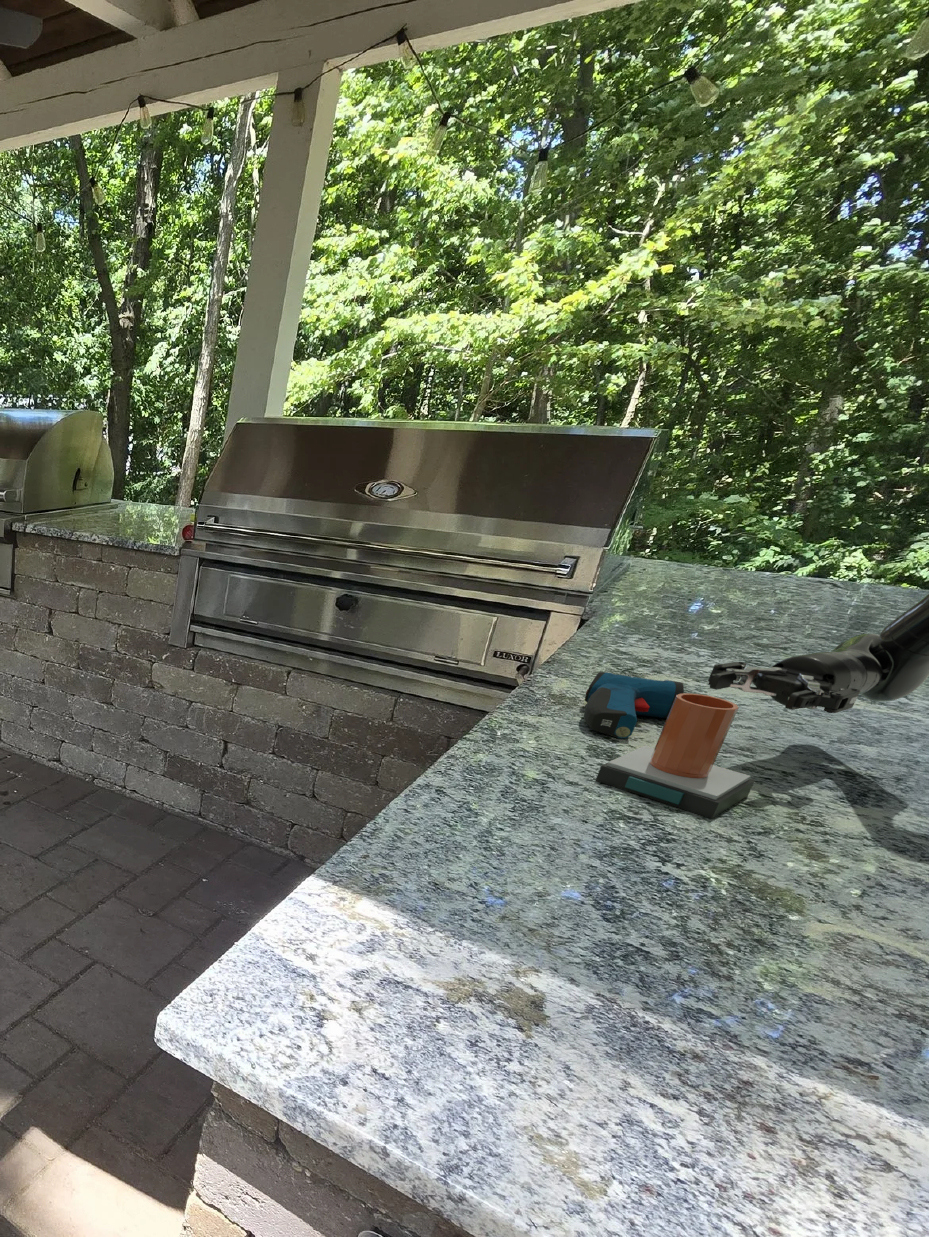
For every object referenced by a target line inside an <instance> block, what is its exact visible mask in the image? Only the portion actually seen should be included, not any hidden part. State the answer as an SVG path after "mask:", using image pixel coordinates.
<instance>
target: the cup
mask: <svg viewBox="0 0 929 1237" xmlns="http://www.w3.org/2000/svg"><path fill="white" fill-rule="evenodd" d="M738 711H739V706H738V705H737V704H736V703H734V702H732V701H730V700H727V699H724V698H720V697H716V696H713V695H707V694H700V693H687V692H686V693H685V692H684V693H683V694H678V695H676V697H675V700H674V702H673V705H672V707H671V710H670V712H669V715H668V717H667V719H666V720H665V722H664V725H663V727H662V729H661V732H660V735H659V736H658V740H657V742H656V744H655V746H654V748H655V749H654V751H653V754H652V756H651V760H650V764H651V765H652V766H653V767H655V768H657V769H659V770H661V771H664V772H667V773H670V774H673V775H677V776H682V777H688V778H705V777H707V776H708V774H709V772H710V771H711V769H712V767H713V765H714V764H715V762H716V760H717V757H718V756H719V753H720V751H721V748H722V746H723V745H724V742H725V740H726V737H727V735H728V733H729V731H730V728H731V726H732V724H733V722H734V719H735V717H736V715H737V714H738V713H737V712H738Z"/></svg>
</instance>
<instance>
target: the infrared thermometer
mask: <svg viewBox="0 0 929 1237" xmlns="http://www.w3.org/2000/svg"><path fill="white" fill-rule="evenodd" d="M684 693H685V686H684V684H683V682H680V681H673V680H668V679H665V680H658V679H652V678H646V677H645V678H644V677H638V676H632V675H630V676H629V675H623V674H615V673H612V672H605V671H604V672H603V671H599V672H598V673H597V674H596V675H595V677H594V678H593V680H592V681H591V682H590V684H589V686H588V688H587V690H586V692H585V696H584V702H586V703H585V704H586V705H585V707H584V708H585V709H584V712H583V713H584V714H583V719H584V721H585V723H586V725H587V726H588V727H589V728H590V729H591V730H592V731H595V732H598V733H601V734H604V735H607V736H611V737H614V738H617V739H621V740H622V739H628V738H629V737H631V736H632V735H633V732H634V730H635V728H636V725H637V722H638V718H637V716H644V717H651V718H658V717H659V718H658V719H665V718H666V719H667V717H668V715H669V712H670V710H671V707H672V705H673V702H674V700H675V697H676V695H678V694H684Z"/></svg>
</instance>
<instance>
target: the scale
mask: <svg viewBox="0 0 929 1237" xmlns="http://www.w3.org/2000/svg"><path fill="white" fill-rule="evenodd" d="M654 749H655V747H652V746H648V745H642V746H640V747H637V748H636V749H634V750H631V751H629V752H627V753H625V754H622V755H621V756H618V757H616V758H614V759H612V760H610V761H608V762H606V763H604V764H602V765H601V764H600V768H599V770H598V773H597V776H596V778H595V781H596V782H599V783H601V784H604V785H608V786H612V787H614V788H617V789H620V790H623V791H626V792H629V793H632V794H634V795H638V796H641V797H645V798H647V799H650V800H653V801H656V802H659V803H661V804H662V803H663V804H665V805H669V806H671V807H675V808H677V809H680V810H682V811H683V810H684V811H686V812H689V813H693V814H695V815H699V816H701V817H705V818H708V819H711V820H712V819H714V818H716V817H717V816H719V815H720V814H722V813H723V812H725V811H726V810H728V809H729V808H731V807H732V806H734V805H736V804H737V803H738V802H739V803H740V802H741V801H742V800H744V799H745V798H747V797H748V796H749V794H750V792H751V790H752V787H753V786H754V784H755V782H756V781H755V780H754V779H752V778H751V775H749V774H745V773H742V772H739V771H735V770H733V769H732V770H731V769H730V768H729V769H728V768H724V767H722V766H718V765H714V764H713V767H712V769H711V771H710V772H709V774H708V776H707V777H705V778H688V777H682V776H677V775H673V774H670V773H667V772H664V771H661V770H659V769H657V768H655V767H653V766H652V765H651V764H650V760H651V756H652V754H653V751H654Z"/></svg>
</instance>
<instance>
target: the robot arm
mask: <svg viewBox="0 0 929 1237" xmlns="http://www.w3.org/2000/svg"><path fill="white" fill-rule="evenodd" d="M928 678H929V593H928V594H926V596H924V597H923V598H922V599H920V600H919V601H918V602H917V603H915V604H914V605H912V606H911V607H910V608H909V609H907V610H906V611H904V612H903V613H902V614H900V615H899V616H898V617H896V618H895V619H894V620H892V621H891V622H889V623H888V624H887V625H886V626H885V627H884V628H883V629H882V630H881V631H880V634H877V633H863V634H858V635H855V636H853V637H850V638H848V639H846V640H844V641H843V642H841V643H839V644H838V645H837V646H835V647H834V648H833V649H832V650H831V651H818V652H812V653H807V654H800V655H794V656H790V657H786V658H784V659H782V660H780V661H778V662H777V663H775V664H774V665H772V666H770V667H768V668H767V667H755V666H747V663H745V661H734V662H733V661H732V662H725V663H724V662H723V663H716V664H714V665H713V667H712V669H711V672H710V674H709V677H708V679H707V682H708V685H709V689H711V690H716V691H717V690H723V689H727V688H735V689H738V690H740V691H742V692H744V693H752V694H753V693H756V694H763V695H765V696H769V697H770V698H771V699H772V700H774V701H775V702H776V703H777V704H779V705H782V706H784V708H785V709H787V710H791V711H794V710H799V709H808V710H816V709H818V707H820V708H823V711H824V712H826V713H827V714H838V713H840V712H843V711H847V710H849V709H853V707H854V705H855V703H856V701H857V699H858V698H859V696H860V695H861V696H862V697H864V698H865V699H867V700H869V701H873V702H879V703H882V702H883V703H884V702H893V701H897V700H900V699H903V698H905V697H907V696H909V695H910V694H912V693H913V692H915V691H916V690H918V688H920V687H921V686H922V684H924V682H926V680H928ZM752 684H753V685H754V686H751V685H752Z"/></svg>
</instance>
